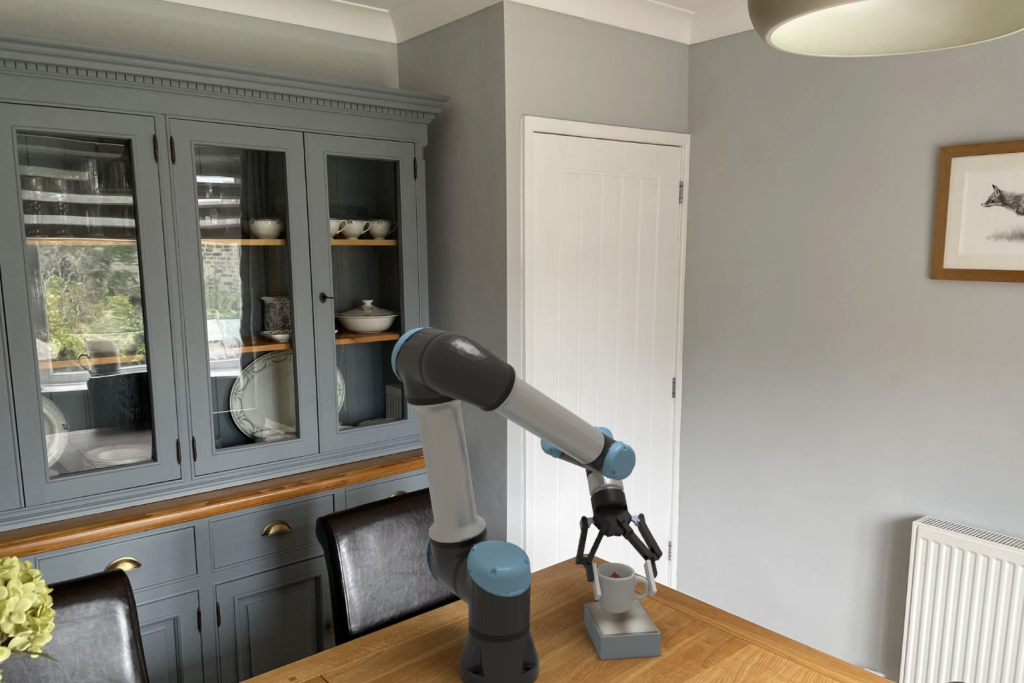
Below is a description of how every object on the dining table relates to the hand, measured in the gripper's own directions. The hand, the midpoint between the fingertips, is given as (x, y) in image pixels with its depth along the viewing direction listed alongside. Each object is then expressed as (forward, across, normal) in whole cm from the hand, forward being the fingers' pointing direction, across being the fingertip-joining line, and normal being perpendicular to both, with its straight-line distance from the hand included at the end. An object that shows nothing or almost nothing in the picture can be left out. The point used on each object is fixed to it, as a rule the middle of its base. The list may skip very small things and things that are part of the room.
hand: (626, 595), depth 148 cm
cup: (+1, 0, -5) cm, 5 cm away
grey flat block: (+6, 0, -10) cm, 11 cm away
